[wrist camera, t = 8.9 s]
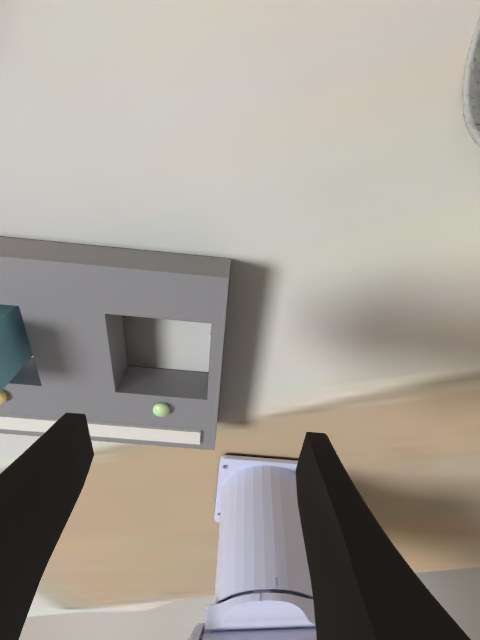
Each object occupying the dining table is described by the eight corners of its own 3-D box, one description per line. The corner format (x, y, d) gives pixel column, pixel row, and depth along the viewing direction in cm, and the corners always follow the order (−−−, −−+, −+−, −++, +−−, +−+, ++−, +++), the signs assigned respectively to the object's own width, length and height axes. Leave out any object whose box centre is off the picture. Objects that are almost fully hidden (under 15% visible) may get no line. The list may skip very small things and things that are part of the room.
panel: (217, 421, 26) (214, 453, 23) (-14, 402, 25) (-42, 433, 23) (231, 258, 19) (228, 280, 16) (-87, 228, 18) (-138, 246, 16)
